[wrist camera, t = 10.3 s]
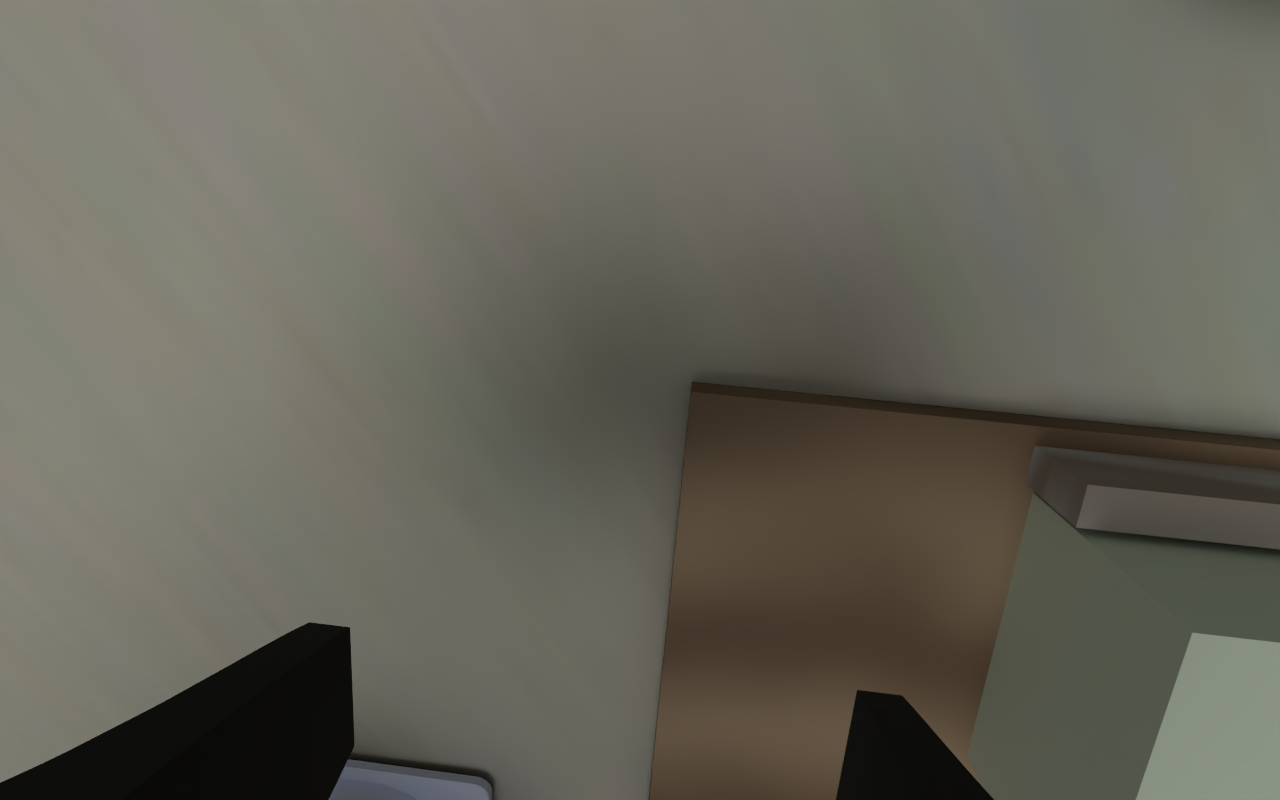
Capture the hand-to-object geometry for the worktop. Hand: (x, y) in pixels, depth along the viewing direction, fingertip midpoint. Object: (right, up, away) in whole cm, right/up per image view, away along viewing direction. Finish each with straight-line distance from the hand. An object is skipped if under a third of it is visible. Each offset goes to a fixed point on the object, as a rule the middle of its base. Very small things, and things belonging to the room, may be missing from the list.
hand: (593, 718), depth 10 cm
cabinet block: (+13, -2, +9) cm, 16 cm away
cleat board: (+9, -3, +10) cm, 14 cm away
